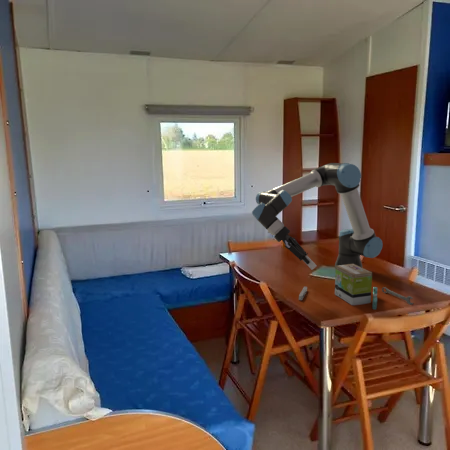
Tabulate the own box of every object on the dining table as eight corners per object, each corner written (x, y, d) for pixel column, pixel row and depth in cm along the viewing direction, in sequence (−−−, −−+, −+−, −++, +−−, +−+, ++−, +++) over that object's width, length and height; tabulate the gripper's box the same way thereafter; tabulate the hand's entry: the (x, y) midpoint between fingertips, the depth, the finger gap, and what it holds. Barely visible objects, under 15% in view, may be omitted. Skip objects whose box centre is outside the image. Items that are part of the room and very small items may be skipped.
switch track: (304, 289, 206) (304, 280, 205) (377, 297, 195) (377, 287, 194) (298, 300, 191) (298, 290, 190) (376, 309, 180) (377, 298, 179)
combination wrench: (381, 285, 202) (411, 298, 183) (384, 285, 202) (414, 297, 184) (381, 293, 203) (411, 306, 184) (383, 292, 203) (413, 306, 184)
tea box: (333, 295, 199) (334, 264, 196) (352, 292, 201) (353, 263, 199) (352, 306, 184) (353, 273, 182) (371, 303, 187) (373, 271, 185)
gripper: (276, 233, 204) (310, 269, 202) (270, 239, 192) (306, 276, 190) (287, 223, 201) (322, 259, 199) (281, 228, 189) (318, 266, 187)
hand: (314, 267), depth 194 cm, fingers closed
